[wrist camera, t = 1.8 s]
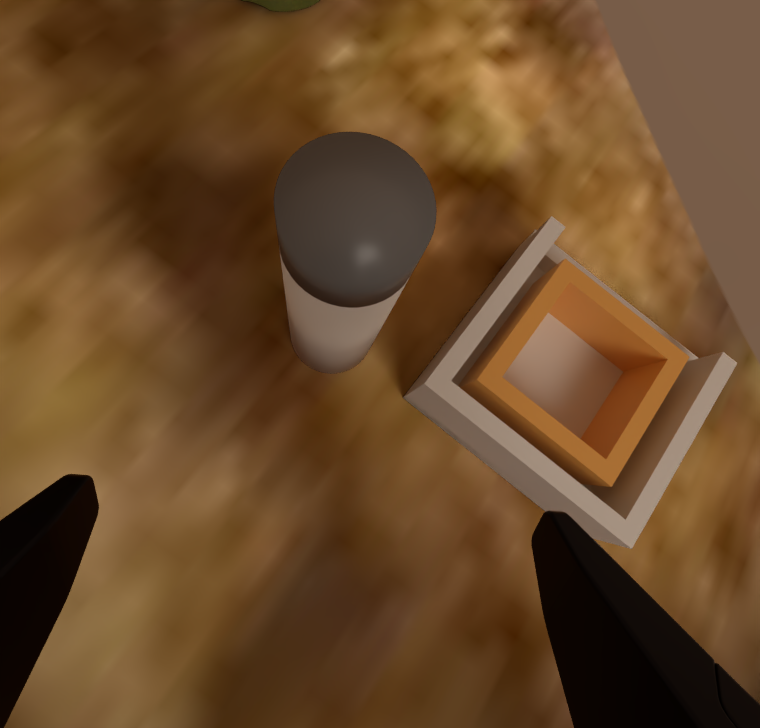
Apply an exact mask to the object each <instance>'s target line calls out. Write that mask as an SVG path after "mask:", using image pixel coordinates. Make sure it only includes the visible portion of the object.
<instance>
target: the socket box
mask: <svg viewBox="0 0 760 728" xmlns="http://www.w3.org/2000/svg"><path fill="white" fill-rule="evenodd" d="M564 229H565V226H563V225H562V224H561V223H560V222H558V221H557V220H556V219H555V218H553V217H552V216H551V217H550V218H549V219H548V220H547V221H546V222H545V223H544V224H543V225H542V226H541V227H540V228H539V229H538V230H535V231H534V232H533V233H532V234H531V235H530V236H529V237H528V238H527V239H526V240H525V241H524V242H523V243H522V244H521V245H520V246H519V247H518V248H517V250H516V251H515V252H514V253H513V255H512V256H511V257H510V259H509V260H508V261H507V263H506V264H505V265H504V266H503V268H502V269H501V270H500V272H499V273H498V274H497V276H496V277H495V278H494V280H493V281H492V282H491V283H490V285H489V286H488V287H487V289H486V290H485V291H484V293H483V294H482V295H481V296H480V298H479V299H478V300H477V302H476V303H475V304H474V306H473V307H472V308H471V309H470V311H469V312H468V313H467V315H466V316H465V317H464V319H463V320H462V321H461V323H460V324H459V325H458V326H457V328H456V329H455V330H454V332H453V333H452V334H451V336H450V337H449V338H448V339H447V341H446V342H445V343H444V345H443V346H442V347H441V349H440V350H439V351H438V353H437V354H436V355H435V356H434V358H433V359H432V360H431V362H430V363H429V364H428V366H427V367H426V368H425V369H424V371H423V372H422V373H421V375H420V376H419V377H418V379H417V380H416V381H415V382H414V384H413V385H412V386H411V388H410V389H409V390H408V392H407V393H406V394H405V396H404V397H403V398H404V399H405V400H406V401H408V402H409V403H410V404H411V405H413V406H414V407H415V408H416V409H418V410H419V411H420V412H421V413H423V414H424V415H425V416H426V417H428V418H429V419H430V420H431V421H433V422H434V423H435V424H436V425H438V426H439V427H440V428H441V429H443V430H444V431H445V432H446V433H448V434H449V435H450V436H451V437H453V438H454V439H455V440H456V441H458V442H459V443H460V444H462V445H463V446H464V447H465V448H467V449H468V450H469V451H470V452H472V453H473V454H474V455H475V456H477V457H478V458H479V459H480V460H482V461H483V462H484V463H485V464H487V465H488V466H489V467H490V468H492V469H493V470H494V471H495V472H497V473H498V474H499V475H500V476H502V477H503V478H504V479H505V480H507V481H508V482H509V483H510V484H512V485H513V486H514V487H516V488H517V489H518V490H519V491H521V492H522V493H523V494H524V495H526V496H527V497H528V498H529V499H531V500H532V501H533V502H534V503H536V504H537V505H538V506H539V507H541V508H542V509H543V510H544V511H549V510H551V511H562V512H565V513H567V514H568V515H569V516H571V517H572V518H573V519H574V520H575V521H576V522H577V523H578V524H579V525H580V526H581V527H582V528H583V529H584V530H585V531H586V532H587V533H588V534H589V535H590V536H591V537H592V538H593V539H597V540H601V541H604V542H608V543H612V544H615V545H619V546H623V547H627V548H630V549H632V548H633V546H634V544H635V542H636V540H637V539H638V537H639V535H640V533H641V532H642V530H643V528H644V526H645V525H646V523H647V521H648V519H649V518H650V516H651V514H652V512H653V511H654V509H655V507H656V505H657V503H658V502H659V500H660V498H661V496H662V495H663V493H664V491H665V489H666V488H667V486H668V484H669V482H670V481H671V479H672V477H673V475H674V474H675V472H676V470H677V468H678V467H679V465H680V463H681V461H682V459H683V458H684V456H685V454H686V452H687V451H688V449H689V447H690V445H691V444H692V442H693V440H694V438H695V437H696V435H697V433H698V431H699V430H700V428H701V426H702V424H703V423H704V421H705V419H706V417H707V415H708V414H709V412H710V410H711V408H712V407H713V405H714V403H715V401H716V400H717V398H718V396H719V394H720V393H721V391H722V389H723V387H724V386H725V384H726V382H727V380H728V378H729V377H730V375H731V373H732V371H733V370H734V368H735V366H736V364H737V362H735V361H734V360H733V359H731V358H730V357H729V356H728V355H726V354H725V353H724V352H721V353H717V354H714V355H710V356H706V357H702V358H698V357H696V356H695V355H694V354H693V353H691V352H690V351H689V350H688V349H686V348H685V347H684V346H683V345H681V344H680V343H679V342H677V341H676V340H675V339H674V338H672V337H671V336H670V335H669V334H667V333H666V332H665V331H664V330H662V329H661V328H660V327H659V326H657V325H656V324H655V323H653V322H652V321H651V320H650V319H648V318H647V317H646V316H645V315H643V314H642V313H641V312H640V311H638V310H637V309H636V308H635V307H633V306H632V305H631V304H629V303H628V302H627V301H626V300H624V299H623V298H622V297H621V296H619V295H618V294H617V293H616V292H614V291H613V290H612V289H611V288H609V287H608V286H607V285H605V284H604V283H603V282H602V281H600V280H599V279H598V278H597V277H595V276H594V275H593V274H592V273H590V272H589V271H588V270H587V269H585V268H584V267H583V266H581V265H580V264H579V263H578V262H576V261H575V260H574V259H573V258H571V257H570V256H569V255H568V254H566V253H565V252H564V251H563V250H561V249H560V248H559V247H558V246H556V245H555V244H554V242H555V241H556V239H557V238H558V237H559V235H560V234H561V233H562V231H563V230H564Z"/></svg>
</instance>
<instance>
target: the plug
mask: <svg viewBox="0 0 760 728" xmlns="http://www.w3.org/2000/svg"><path fill="white" fill-rule="evenodd" d="M274 211H275V219H276V227H277V235H278V242H279V250H280V258H281V266H282V274H283V282H284V289H285V297H286V305H287V313H288V321H289V329H290V336H291V342H292V346H293V348H294V351H295V353H296V354H297V356H298V357H299V358H300V359H301V361H302V362H304V363H305V364H306V365H307V366H309V367H310V368H312V369H314V370H316V371H319V372H323V373H330V374H332V373H341V372H345V371H348V370H350V369H352V368H353V367H355V366H356V365H358V364H359V363H360V362H361V361H362V360H363V359H364V357H365V356H366V354H367V353H368V351H369V349H370V347H371V346H372V344H373V342H374V340H375V338H376V337H377V335H378V333H379V331H380V330H381V328H382V326H383V324H384V322H385V321H386V319H387V317H388V315H389V314H390V312H391V310H392V308H393V306H394V305H395V303H396V301H397V299H398V297H399V296H400V294H401V292H402V290H403V289H404V287H405V285H406V283H407V281H408V280H409V278H410V276H411V274H412V273H413V271H414V269H415V267H416V265H417V264H418V262H419V260H420V258H421V256H422V255H423V253H424V251H425V249H426V248H427V246H428V244H429V242H430V240H431V237H432V235H433V232H434V228H435V223H436V201H435V197H434V192H433V190H432V187H431V184H430V182H429V180H428V178H427V176H426V174H425V173H424V171H423V170H422V168H421V167H420V165H419V164H418V163H417V162H416V161H415V160H414V159H413V158H412V157H411V156H410V155H409V154H408V153H407V152H406V151H404V150H403V149H401V148H400V147H398V146H397V145H395V144H393V143H391V142H390V141H388V140H385V139H383V138H380V137H378V136H374V135H371V134H366V133H360V132H339V133H333V134H328V135H325V136H322V137H319V138H317V139H315V140H313V141H310V142H309V143H307V144H306V145H304V146H303V147H301V148H300V149H299V150H298V151H296V152H295V153H294V154H293V155H292V156H291V158H290V159H289V160H288V161H287V162H286V164H285V166H284V167H283V169H282V170H281V173H280V175H279V177H278V180H277V183H276V187H275V193H274Z"/></svg>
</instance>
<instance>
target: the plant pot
mask: <svg viewBox="0 0 760 728" xmlns="http://www.w3.org/2000/svg"><path fill="white" fill-rule="evenodd" d="M242 1H250V2H253V3H256V4H259V5H261V6H263V7H265V8H267V9H269V10H271V11H284V12H288V11H295V10H300V9H304V8H307V7H309V6H312V5H314V4H315V3H317V2H319V1H320V0H242Z"/></svg>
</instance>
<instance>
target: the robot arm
mask: <svg viewBox="0 0 760 728" xmlns="http://www.w3.org/2000/svg"><path fill="white" fill-rule="evenodd" d="M98 510H99V504H98V499H97V494H96V490H95V486H94V481H93V479H92V477H90V476H88V475H78V474H68V475H65V476H63V477H62V478H60V479H59V480H57V481H56V482H55V483H53V484H52V485H50V486H49V487H47V488H46V489H45V490H43V491H42V492H40V493H39V494H37V495H36V496H35V497H33V498H32V499H30V500H29V501H27V502H26V503H25V504H23V505H22V506H20V507H19V508H17V509H16V510H15V511H13V512H12V513H10V514H9V515H8V516H6V517H5V518H3V519H2V520H0V728H4V726H5V724H6V722H7V720H8V718H9V716H10V714H11V712H12V710H13V708H14V706H15V704H16V702H17V700H18V698H19V696H20V694H21V692H22V690H23V688H24V686H25V684H26V682H27V680H28V678H29V675H30V673H31V671H32V669H33V667H34V665H35V663H36V661H37V659H38V657H39V655H40V653H41V651H42V649H43V647H44V645H45V643H46V641H47V639H48V637H49V635H50V633H51V631H52V629H53V627H54V624H55V622H56V620H57V618H58V616H59V614H60V612H61V610H62V608H63V606H64V604H65V602H66V599H67V597H68V595H69V592H70V590H71V587H72V585H73V582H74V579H75V577H76V574H77V571H78V568H79V566H80V563H81V560H82V557H83V554H84V552H85V549H86V546H87V543H88V541H89V538H90V535H91V532H92V530H93V527H94V524H95V521H96V519H97V515H98ZM532 550H533V556H534V562H535V568H536V574H537V580H538V586H539V592H540V598H541V604H542V609H543V615H544V619H545V623H546V627H547V631H548V635H549V638H550V642H551V646H552V649H553V653H554V656H555V660H556V664H557V667H558V671H559V675H560V678H561V682H562V686H563V689H564V693H565V696H566V700H567V704H568V707H569V711H570V715H571V718H572V722H573V725H574V728H760V704H759V703H758V702H757V701H756V700H755V699H753V698H752V697H751V696H750V695H749V694H748V693H747V692H746V691H745V690H744V689H743V688H742V687H741V686H740V685H739V684H738V683H737V682H736V681H735V680H734V679H733V678H732V677H731V676H730V675H729V674H728V673H727V672H726V671H725V670H724V669H723V668H722V667H721V666H720V665H719V664H717V663H714V659H713V658H712V657H711V656H710V655H709V654H708V653H707V652H706V651H705V650H704V649H703V648H702V647H701V646H700V645H699V644H698V643H697V642H696V641H695V640H694V639H693V638H692V637H691V636H690V635H689V634H688V633H687V632H686V631H685V630H684V629H683V628H682V627H681V626H680V625H679V624H678V623H677V622H676V621H675V620H674V619H673V618H672V617H671V616H670V615H669V614H668V613H667V612H666V611H665V610H664V609H663V608H662V607H661V606H660V605H659V604H658V603H657V602H656V601H655V600H654V599H653V598H652V597H651V596H650V595H649V594H648V593H647V592H646V591H645V590H644V589H643V588H642V587H641V586H640V585H639V584H638V583H637V582H636V581H635V580H634V579H633V578H632V577H631V576H630V575H629V574H628V573H627V572H626V571H625V570H624V569H623V568H622V567H621V566H620V565H619V564H618V563H617V562H616V561H615V560H614V559H613V558H612V557H611V556H610V555H609V554H608V553H607V552H606V551H605V550H604V549H603V548H602V547H601V546H600V545H599V544H598V543H597V542H596V541H595V540H594V539H593V538H592V537H591V536H590V535H589V534H588V533H587V532H586V531H585V530H584V529H583V528H582V527H581V526H580V525H579V524H578V523H577V522H576V521H575V520H574V519H573V518H572V517H571V516H569V515H568V514H567V513H565V512H562V511H551V510H549V511H546V512H545V513H544V514H543V515H542V517H541V519H540V521H539V523H538V525H537V527H536V529H535V531H534V533H533V535H532Z"/></svg>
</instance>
